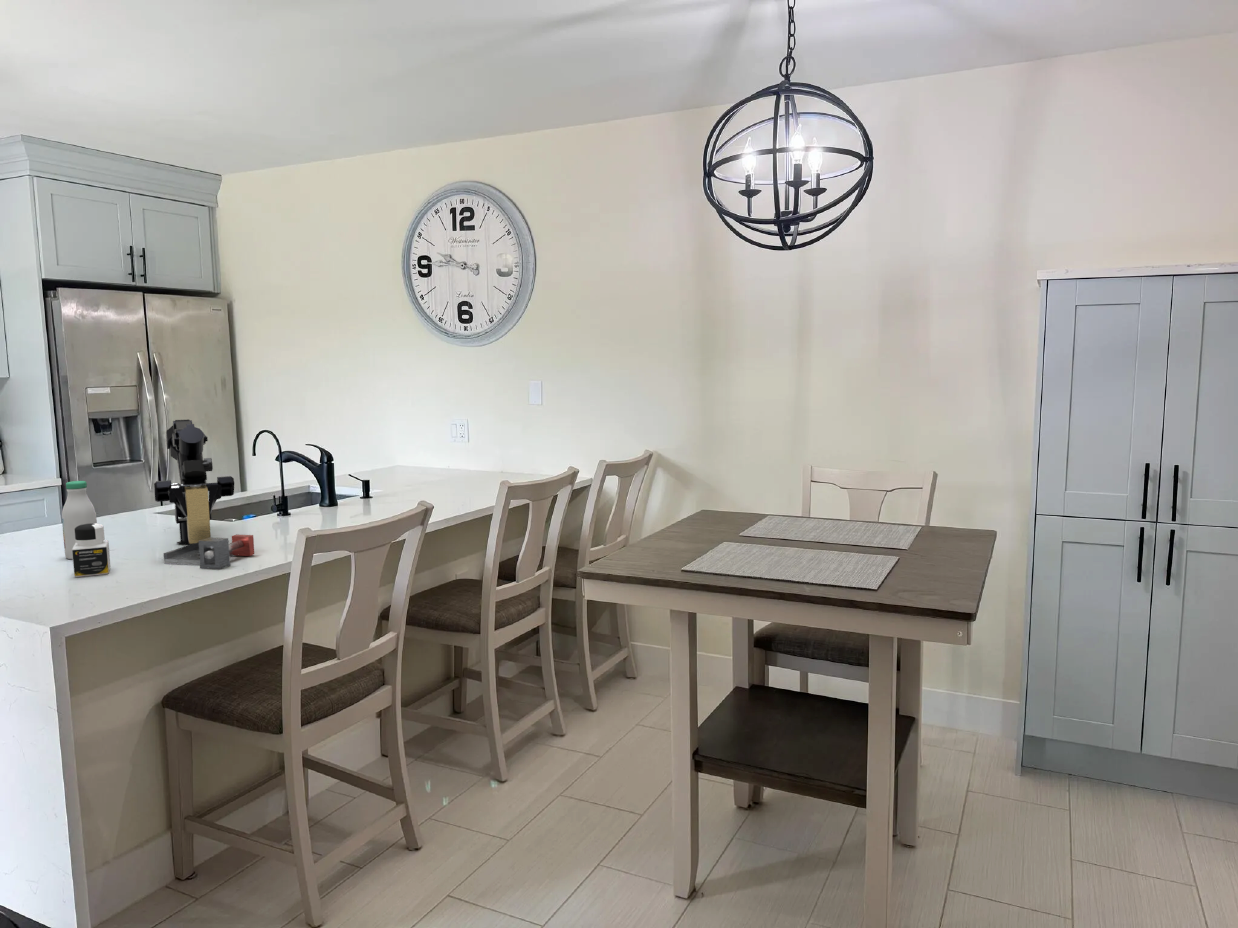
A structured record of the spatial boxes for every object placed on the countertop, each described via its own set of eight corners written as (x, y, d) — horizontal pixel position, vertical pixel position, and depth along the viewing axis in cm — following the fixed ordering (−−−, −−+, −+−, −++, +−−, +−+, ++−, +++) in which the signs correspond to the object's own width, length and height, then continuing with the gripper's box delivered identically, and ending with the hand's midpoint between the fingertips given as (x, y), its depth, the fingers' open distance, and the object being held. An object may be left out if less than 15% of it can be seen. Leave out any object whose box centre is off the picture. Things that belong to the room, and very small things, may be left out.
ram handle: (199, 567, 212) (198, 547, 211) (237, 553, 227) (236, 534, 226) (217, 568, 211) (216, 547, 210) (254, 554, 226) (253, 535, 225)
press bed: (164, 563, 217) (163, 553, 217) (196, 552, 229) (195, 542, 229) (206, 565, 215) (205, 555, 215) (235, 554, 227) (235, 544, 226)
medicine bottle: (74, 577, 204) (69, 528, 202) (77, 571, 210) (73, 523, 209) (108, 574, 207) (104, 525, 206) (110, 567, 214) (106, 520, 212)
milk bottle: (106, 554, 228) (100, 480, 225) (80, 560, 221) (73, 484, 218) (85, 552, 230) (78, 479, 228) (58, 558, 223) (51, 483, 220)
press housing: (200, 568, 213) (198, 540, 212) (210, 564, 216) (208, 537, 216) (220, 569, 212) (218, 541, 211) (230, 565, 215) (228, 538, 215)
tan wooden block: (188, 539, 222) (184, 483, 220) (209, 537, 225) (205, 482, 223) (189, 543, 218) (185, 486, 216) (211, 541, 221) (207, 485, 218)
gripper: (151, 450, 217) (156, 499, 209) (231, 446, 226) (238, 493, 218) (152, 476, 225) (157, 525, 217) (230, 471, 234) (237, 517, 226)
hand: (198, 514), depth 219 cm, fingers closed on tan wooden block, 5 cm apart
